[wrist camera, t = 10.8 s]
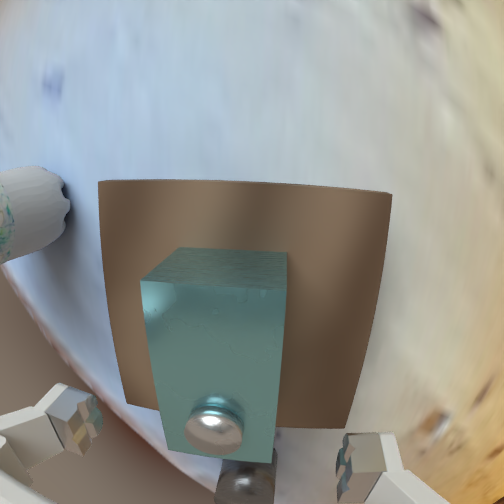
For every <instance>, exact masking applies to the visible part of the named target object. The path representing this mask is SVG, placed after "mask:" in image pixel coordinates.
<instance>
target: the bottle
mask: <svg viewBox="0 0 504 504" xmlns="http://www.w3.org/2000/svg"><path fill="white" fill-rule="evenodd" d="M63 186H64V182H63V180H62V179H61V177H60V176H58V175H57V174H54V173H51V172H49V171H47V170H46V169H45V168H43V167H40V166H27V167H20V168H15V169H10V170H6V171H2V172H0V265H1V264H3V263H5V262H7V261H9V260H12V259H15V258H18V257H21V256H24V255H27V254H30V253H33V252H35V251H38V250H40V249H42V248H44V247H46V246H48V245H49V244H50V243H52V242H53V241H55V240H56V239H57V238H59V236H60V235H61V234H62V233H63V232H64V230H65V227H66V224H65V221H64V217H65V215H66V214H67V213H68V211H69V210H70V200H69V199H66V198H65V197H64V196H63V194H62V191H61V189H62V187H63Z"/></svg>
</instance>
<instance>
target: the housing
mask: <svg viewBox="0 0 504 504" xmlns="http://www.w3.org/2000/svg"><path fill="white" fill-rule="evenodd" d="M140 286H141V295H142V304H143V312H144V320H145V328H146V335H147V342H148V349H149V355H150V362H151V368H152V373H153V379H154V385H155V390H156V395H157V400H158V405H159V410H160V415H161V420H162V424H163V429H164V433H165V438H166V442H167V446H168V450H172V451H177V452H183V453H188V454H194V455H200V456H207V457H214V458H221V459H229V460H238V461H249V462H261V463H271V461H272V452H273V443H274V434H275V424H276V414H277V404H278V394H279V383H280V372H281V360H282V348H283V335H284V322H285V308H286V293H287V252H273V251H253V250H232V249H212V248H191V247H179V248H177V249H176V250H175V251H174V252H173V253H172V254H170V255H169V256H168V257H167V258H166V259H164V260H163V261H162V262H161V263H160V264H159V265H157V266H156V267H155V268H154V269H153V270H152V271H150V272H149V273H148V274H147V275H146V276H145V277H143V278H142V279H141V280H140Z"/></svg>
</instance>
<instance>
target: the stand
mask: <svg viewBox="0 0 504 504" xmlns="http://www.w3.org/2000/svg"><path fill="white" fill-rule="evenodd" d="M98 198H99V221H100V237H101V250H102V261H103V271H104V280H105V288H106V296H107V304H108V311H109V317H110V324H111V330H112V335H113V341H114V347H115V352H116V357H117V362H118V367H119V372H120V376H121V381H122V385H123V390H124V394H125V398H126V402H127V404H131V405H136V406H140V407H144V408H149V409H153V410H158V411H160V410H159V405H158V400H157V395H156V390H155V385H154V379H153V373H152V368H151V362H150V355H149V349H148V342H147V335H146V328H145V320H144V312H143V304H142V295H141V286H140V280H141V279H142V278H143V277H145V276H146V275H147V274H148V273H149V272H150V271H152V270H153V269H154V268H155V267H156V266H157V265H159V264H160V263H161V262H162V261H163V260H164V259H166V258H167V257H168V256H169V255H170V254H172V253H173V252H174V251H175V250H176V249H177V248H179V247H191V248H212V249H232V250H253V251H273V252H287V293H286V308H285V322H284V335H283V348H282V360H281V372H280V383H279V394H278V404H277V414H276V424H275V427H292V428H327V429H340V428H345V425H346V422H347V419H348V415H349V412H350V409H351V406H352V402H353V399H354V395H355V392H356V388H357V385H358V381H359V377H360V374H361V370H362V366H363V362H364V358H365V354H366V350H367V346H368V342H369V337H370V333H371V328H372V324H373V319H374V314H375V309H376V304H377V299H378V294H379V288H380V283H381V277H382V271H383V265H384V258H385V252H386V245H387V237H388V230H389V222H390V213H391V204H392V194H389V193H387V192H379V191H370V190H360V189H350V188H339V187H327V186H315V185H301V184H286V183H269V182H249V181H224V180H175V179H143V180H106V181H99V182H98Z"/></svg>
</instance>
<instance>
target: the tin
mask: <svg viewBox="0 0 504 504" xmlns="http://www.w3.org/2000/svg"><path fill="white" fill-rule="evenodd" d="M276 464H277V452H276V450H275V449H274V448H273V452H272V461H271V463H261V462H249V461H238V460H229V459H223V462H222V467H221V471H220V475H219V480H218V484H217V488H216V492H215V497H214V501H215V503H216V504H273V503H274V491H275V478H276Z"/></svg>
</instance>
